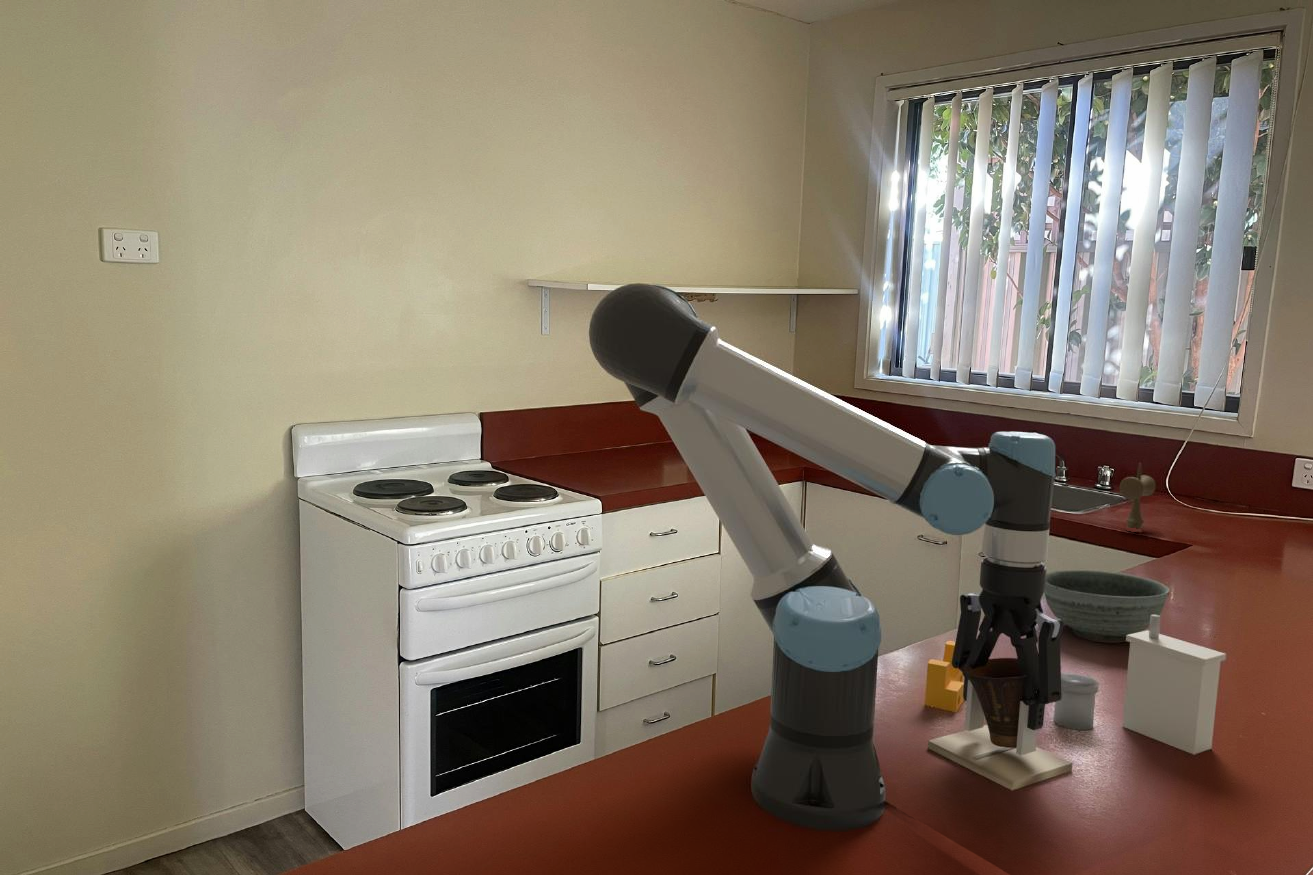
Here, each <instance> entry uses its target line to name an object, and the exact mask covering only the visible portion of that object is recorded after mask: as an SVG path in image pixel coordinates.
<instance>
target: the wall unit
mask: <svg viewBox="0 0 1313 875" xmlns="http://www.w3.org/2000/svg"><path fill="white" fill-rule="evenodd" d="M1160 629H1161V616H1160V615H1151V618H1150V626H1149V629H1145V630H1143V631H1141V632H1138V633H1133V634H1129V635H1126V641H1125V642H1129V652H1128V661H1127V662H1128V664H1127V672H1126V673H1127V674H1126V684H1125V696H1124V703H1123V705H1124V706H1123V714H1122V715H1123V716H1122V727H1123V728H1125V729H1128V730H1131V731H1133V732H1136V733H1139V734H1141V735H1142V736H1146V737H1148V738H1151V739H1153V740H1156V741H1159V742H1161V743H1163V744H1165V745H1167V746H1171V747H1174V748H1176V749H1179V750H1181V751H1184V752H1186V753H1188V754H1191V755H1193V756H1194V755H1197V754H1199V753H1203V752H1205V751H1208V750H1211V749H1212V745H1213V735H1214V726H1215V718H1216V716H1215V715H1216V706H1217V700H1218V699H1217V698H1218V688H1219V679H1220V669H1221V662H1222V661H1226V659H1227V653H1226V652H1221V651H1217V650H1215V649H1211V648H1207V647H1206V646H1202V645H1198V644H1194V643H1191V642H1188V641H1185V640H1181V639H1178V638H1175V637H1171V636H1168V635H1165V634H1162V633H1160Z"/></svg>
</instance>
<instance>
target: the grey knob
mask: <svg viewBox="0 0 1313 875" xmlns="http://www.w3.org/2000/svg"><path fill="white" fill-rule="evenodd" d="M1099 684H1100V683H1099V681H1098V680H1096V679H1095V678H1093V677H1090V676H1087V675H1083V674H1078V673H1071V672H1069V673H1068V672H1064V673H1062V672H1061V693H1062V698H1061V700H1060V701H1057V702H1054V711H1053V721H1054V723H1055V724H1057V725H1059V726H1060V727H1062V728H1063V727H1064V728H1066V729H1071V730H1077V731H1078V730H1079V731H1085V730H1086V731H1087V730H1090V729H1093V728H1094V721H1095V720H1094V719H1095V717H1094V716H1095V707H1096V694H1097V693H1098V692H1099V686H1100V685H1099Z"/></svg>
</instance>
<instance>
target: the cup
mask: <svg viewBox="0 0 1313 875" xmlns="http://www.w3.org/2000/svg"><path fill="white" fill-rule="evenodd" d="M965 673H966V675H967V677H968V679H969V680H970V682H971V684H972V685H973V687H974V689H975V691H976V694H977V696H978V699H979V702H980V705H981V707H982V710H983V713H984V720H985V722H986V725H988V729H989V734H990V740H991V742H992V743H993V744H994V745H996V746H999V747H1007V748H1017V735H1018V723H1019V711H1020V701H1023V700H1027V699H1026V694H1025V690H1024V684H1025V681H1026V676H1021V672H1020V667H1019V663H1018V658H1017V657H997V658H995V657H994V658H989V660H988V662H987V664H986V665H985V666H983V667H982V666H980V667H977V668H975V669H972V668H971V666H970V665H967V666H966V667H965Z"/></svg>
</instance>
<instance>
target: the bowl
mask: <svg viewBox="0 0 1313 875" xmlns="http://www.w3.org/2000/svg"><path fill="white" fill-rule="evenodd" d="M1170 593H1171V590H1170V588H1169V587H1168V586H1167V585H1166V584H1164V583H1161V582H1160V581H1157V580H1153V579H1151V578H1146V577H1142V576H1138V575H1133V574H1128V573H1123V572H1114V571H1107V570H1105V571H1104V570H1095V569H1094V570H1092V569H1066V570H1063V569H1062V570H1055V571H1051V572H1046V580H1045V591H1044V593H1043V594H1044V597H1045V600H1046V603H1047V606H1048V608H1049V610H1051V612H1052V614H1053V615H1054V616H1055V617H1056V619H1061V620H1062V621H1063V622H1064V626H1065V625H1066V626H1067V627H1069V628H1071V630H1072V633H1073V634H1074V635H1076V636H1077V637H1080V638H1082V639H1085V640H1089V641H1092V642H1097V643H1098V642H1101V643H1123V642H1127V641H1126V635H1129V634H1133V633H1138V632H1142V631H1146V630H1147V629H1148V628H1150V618H1151V615H1159V616H1160V615H1161V613H1162V612H1163V610H1164V607H1165V605H1166V601H1167V598H1168V597H1169V596H1170Z"/></svg>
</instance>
